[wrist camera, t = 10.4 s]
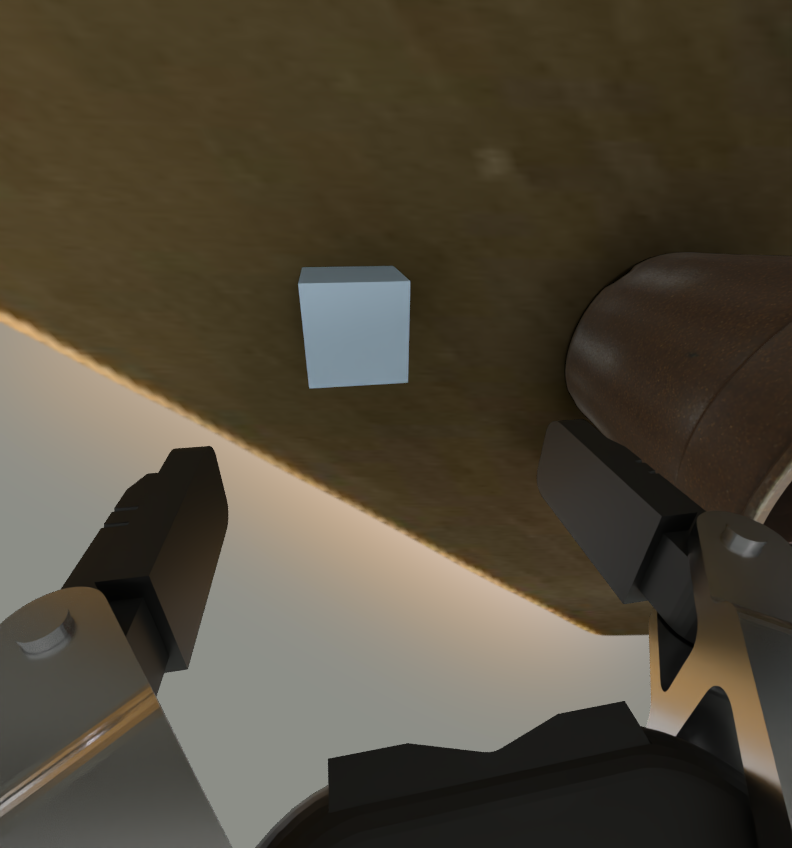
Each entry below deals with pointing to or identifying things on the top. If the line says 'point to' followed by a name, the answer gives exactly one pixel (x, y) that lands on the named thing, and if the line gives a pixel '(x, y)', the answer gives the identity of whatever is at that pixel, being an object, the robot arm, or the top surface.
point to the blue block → (355, 325)
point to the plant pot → (697, 377)
